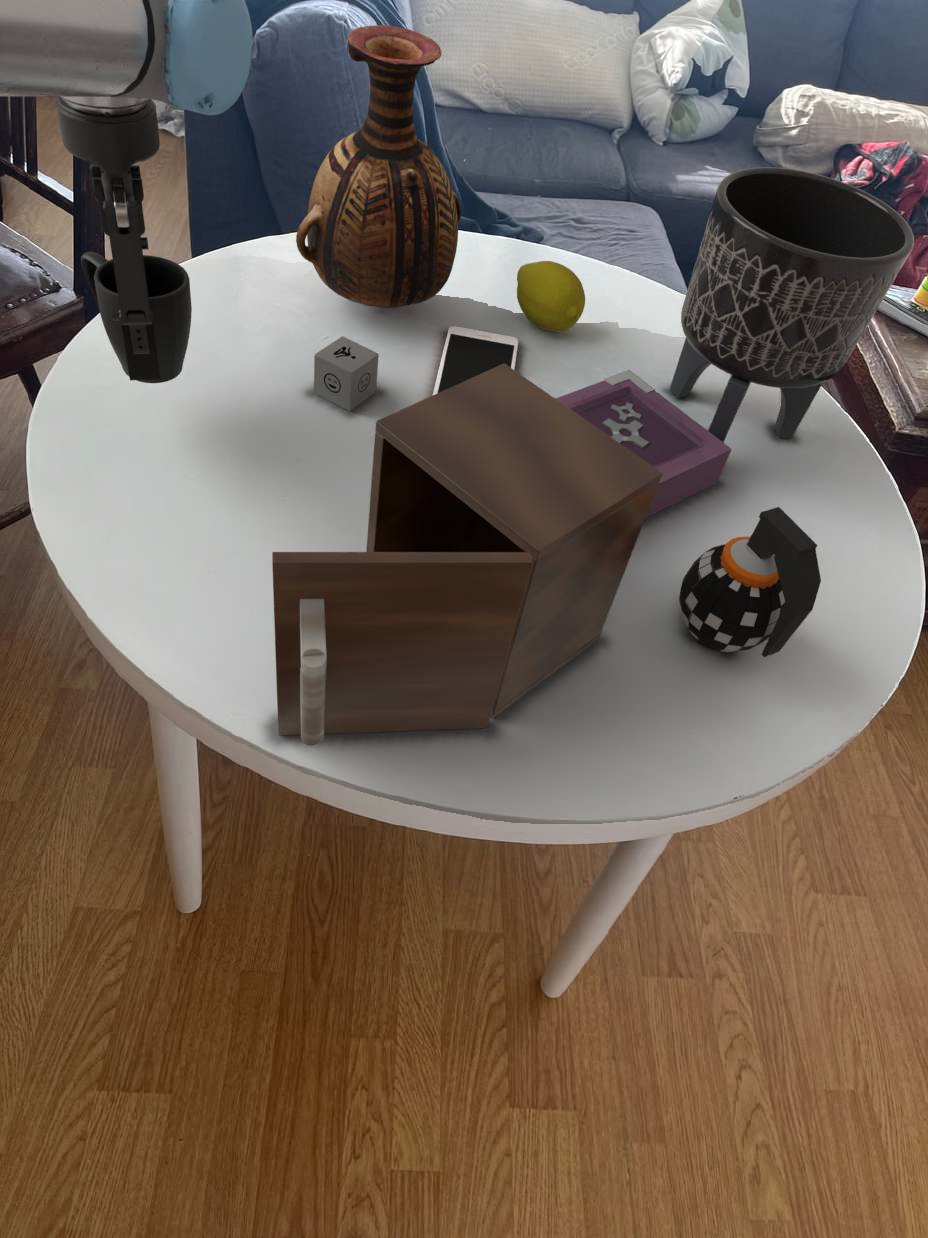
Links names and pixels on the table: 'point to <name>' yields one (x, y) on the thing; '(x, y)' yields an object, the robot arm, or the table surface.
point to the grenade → (752, 587)
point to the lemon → (550, 295)
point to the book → (653, 434)
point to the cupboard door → (392, 638)
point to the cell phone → (472, 355)
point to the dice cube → (345, 373)
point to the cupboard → (515, 506)
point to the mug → (166, 304)
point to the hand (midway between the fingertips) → (140, 345)
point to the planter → (785, 286)
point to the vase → (384, 188)
